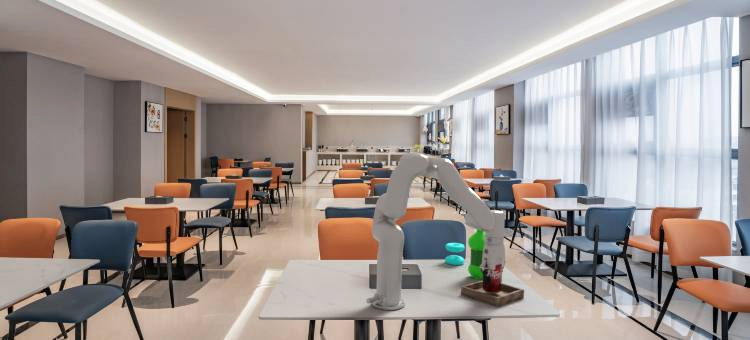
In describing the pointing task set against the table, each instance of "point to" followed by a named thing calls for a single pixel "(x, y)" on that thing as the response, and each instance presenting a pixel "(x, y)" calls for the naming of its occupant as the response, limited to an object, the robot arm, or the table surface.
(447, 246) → the donuts
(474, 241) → the plastic bottle
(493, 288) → the soda can
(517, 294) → the walnut tray
